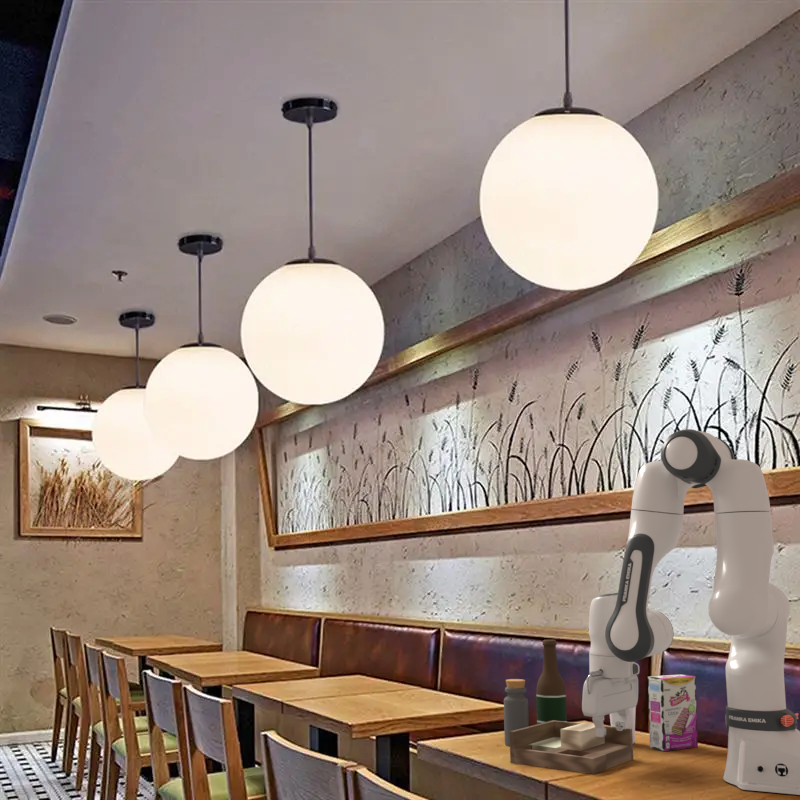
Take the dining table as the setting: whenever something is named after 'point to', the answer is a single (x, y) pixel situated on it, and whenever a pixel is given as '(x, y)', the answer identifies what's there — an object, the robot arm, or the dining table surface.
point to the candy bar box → (672, 712)
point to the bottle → (515, 707)
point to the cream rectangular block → (580, 737)
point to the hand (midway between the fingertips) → (611, 733)
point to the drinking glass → (629, 722)
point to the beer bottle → (550, 688)
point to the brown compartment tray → (545, 749)
